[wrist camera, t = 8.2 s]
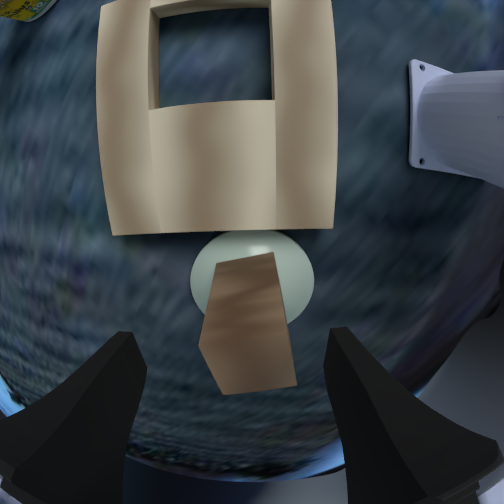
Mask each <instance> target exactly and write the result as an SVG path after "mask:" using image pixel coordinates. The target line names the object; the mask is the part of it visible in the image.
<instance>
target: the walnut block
mask: <svg viewBox="0 0 504 504" xmlns="http://www.w3.org/2000/svg"><path fill="white" fill-rule="evenodd" d="M198 346H199V348H200V350H201V353H202V355H203V357H204V359H205V361H206V363H207V365H208V367H209V369H210V371H211V373H212V375H213V377H214V378H215V380H216V382H217V384H218V386H219V388H220V390H221V392H222V394H223V395H229V394H239V393H248V392H257V391H264V390H271V389H278V388H284V387H290V386H296V385H297V382H296V375H295V369H294V362H293V356H292V350H291V344H290V337H289V331H288V325H287V319H286V314H285V308H284V302H283V296H282V291H281V286H280V281H279V276H278V271H277V266H276V261H275V256H274V252H270V253H265V254H260V255H255V256H249V257H244V258H239V259H234V260H229V261H224V262H219V263H216V266H215V271H214V275H213V280H212V284H211V289H210V293H209V298H208V302H207V307H206V312H205V316H204V321H203V326H202V331H201V336H200V340H199V345H198Z"/></svg>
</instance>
